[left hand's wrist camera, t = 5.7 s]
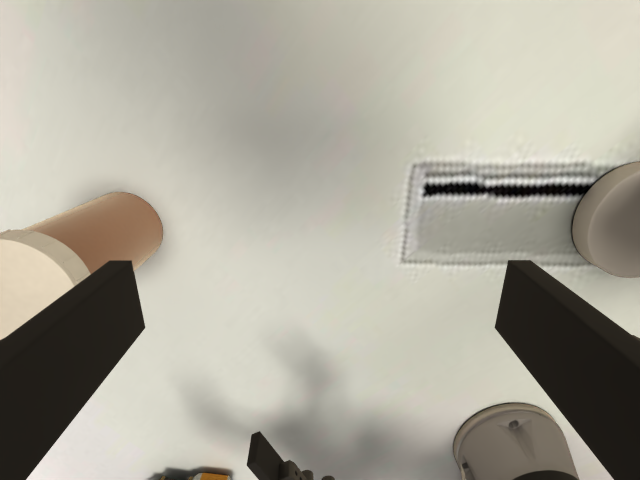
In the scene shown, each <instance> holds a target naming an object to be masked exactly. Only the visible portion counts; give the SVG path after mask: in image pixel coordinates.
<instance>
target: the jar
mask: <svg viewBox="0 0 640 480" xmlns="http://www.w3.org/2000/svg"><path fill="white" fill-rule="evenodd" d="M22 230H29V231H35V232H39V233H42V234H45V235H48V236H50V237H52V238H54V239H57V240H58V241H60V242H61V243H63V244H65V245H66V246H67V247H69V248H70V249H71V250H72V251H73V252H74V253H76V254H77V255H78V257H79V258H80V259H81V260H82V261H83V262H84V264H85V265H86V267H87V268H88V270H89V272H90V274H92V273H93V272H95V271H96V270H97V269H99V268H100V267H101V266H103V265H104V264H105V263H107V262H108V261H110V260H132V265H133V270H134V271H135V270H136V269H137V268H138V267H139V266H141V265H142V264H143V263H144V262H145V261H146V260H147V259H148V258H150V257H151V256H152V255H153V254H154V253H155V252H156V251H157V250H158V248H159V246H160V244H161V242H162V237H163V229H162V224H161V221H160V218H159V216H158V215H157V213H156V211H155V210H154V209H153V208H152V207H151V206H150V205H149V204H148V203H147V202H146V201H144V200H143V199H141V198H139V197H138V196H135V195H133V194H129V193H124V192H113V193H109V194H106V195H104V196H101V197H99V198H96V199H94V200H92V201H89V202H87V203H84V204H82V205H80V206H77V207H75V208H72V209H70V210H68V211H65V212H63V213H60V214H58V215H56V216H53V217H51V218H48V219H46V220H44V221H41V222H39V223H36V224H34V225H32V226H29V227H27V228H24V229H22Z"/></svg>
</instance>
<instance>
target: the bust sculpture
mask: <svg viewBox="0 0 640 480" xmlns="http://www.w3.org/2000/svg"><path fill="white" fill-rule="evenodd" d="M572 233H573V240H574V243H575V246H576V248H577V250H578V251H579V253H580V254H581V255H582V256H583V257H584V258H585V259H586V260H587V261H589V262H590V263H592V264H594V265H595V266H597V267H599V268H601V269H602V270H604V271H606V272H608V273H610V274H612V275H615V276H619V277H626V278H636V277H640V161H639V162H634V163H630V164H627V165H624V166H621V167H619V168H617V169H615V170H613V171H611V172H609V173H608V174H606V175H605V176H604V177H602V178H601V179H600V180H598V181H597V182H596V183H595V184H594V185H593V186H592V187H591V188H590V189H589V190H588V192H587V193H586V194H585V196H584V197H583V199H582V200H581V202H580V204H579V206H578V208H577V210H576V213H575V216H574V220H573V227H572Z"/></svg>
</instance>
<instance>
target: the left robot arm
mask: <svg viewBox="0 0 640 480" xmlns="http://www.w3.org/2000/svg"><path fill="white" fill-rule="evenodd" d="M144 329H145V324H144V319H143V314H142V309H141V304H140V299H139V294H138V289H137V284H136V279H135V275H134V270H133V265H132V260H110V261H108V262H107V263H105V264H104V265H103V266H101V267H100V268H99V269H97V270H96V271H95V272H93V273H92V274H91V275H89V276H88V277H87V278H85V279H84V280H82V281H81V282H80V283H78V284H77V285H76V286H74V287H73V288H72V289H70V290H69V291H68V292H66V293H65V294H63V295H62V296H61V297H59V298H58V299H57V300H55V301H54V302H53V303H51V304H50V305H49V306H47V307H46V308H45V309H43V310H42V311H40V312H39V313H38V314H36V315H35V316H34V317H32V318H31V319H30V320H28V321H27V322H26V323H24V324H23V325H21V326H20V327H19V328H17V329H16V330H15V331H13V332H12V333H11V334H9V335H8V336H7V337H5V338H3V339H1V340H0V480H26V479H27V478H28V476H29V475H30V474H31V472H32V471H33V470H34V469H35V467H36V466H37V465H38V464H39V462H40V461H41V460H42V458H43V457H44V456H45V455H46V453H47V452H48V451H49V450H50V448H51V447H52V446H53V444H54V443H55V442H56V441H57V439H58V438H59V437H60V436H61V434H62V433H63V432H64V430H65V429H66V428H67V427H68V425H69V424H70V423H71V422H72V420H73V419H74V418H75V416H76V415H77V414H78V413H79V411H80V410H81V409H82V408H83V406H84V405H85V404H86V402H87V401H88V400H89V399H90V397H91V396H92V395H93V394H94V392H95V391H96V390H97V388H98V387H99V386H100V385H101V383H102V382H103V381H104V379H105V378H106V377H107V376H108V374H109V373H110V372H111V371H112V369H113V368H114V367H115V365H116V364H117V363H118V362H119V360H120V359H121V358H122V357H123V355H124V354H125V353H126V351H127V350H128V349H129V348H130V346H131V345H132V344H133V343H134V341H135V340H136V339H137V337H138V336H139V335H140V334H141V332H142V331H143V330H144ZM495 329H496V330H497V331H498V332H499V334H500V335H501V336H502V337H503V339H504V340H505V341H506V343H507V344H508V345H509V346H510V348H511V349H512V350H513V351H514V353H515V354H516V355H517V357H518V358H519V359H520V360H521V362H522V363H523V364H524V365H525V367H526V368H527V369H528V371H529V372H530V373H531V374H532V376H533V377H534V378H535V379H536V381H537V382H538V383H539V385H540V386H541V387H542V388H543V390H544V391H545V392H546V394H547V395H548V396H549V397H550V399H551V400H552V401H553V402H554V404H555V405H556V406H557V408H558V409H559V410H560V411H561V413H562V414H563V415H564V416H565V418H566V419H567V420H568V422H569V423H570V424H571V425H572V427H573V428H574V429H575V430H576V432H577V433H578V434H579V436H580V437H581V438H582V439H583V441H584V442H585V443H586V444H587V446H588V447H589V448H590V450H591V451H592V452H593V453H594V455H595V456H596V457H597V458H598V460H599V461H600V462H601V464H602V465H603V466H604V467H605V469H606V470H607V471H608V472H609V474H610V475H611V476H612V478H613V479H614V480H640V338H638V337H636V336H634V335H631V334H629V333H628V332H627V331H625V330H624V329H623V328H621V327H620V326H619V325H617V324H616V323H614V322H613V321H612V320H610V319H609V318H608V317H606V316H605V315H604V314H602V313H601V312H600V311H598V310H597V309H595V308H594V307H593V306H591V305H590V304H589V303H587V302H586V301H585V300H583V299H582V298H581V297H579V296H578V295H577V294H575V293H574V292H572V291H571V290H570V289H568V288H567V287H566V286H564V285H563V284H562V283H560V282H559V281H558V280H556V279H555V278H553V277H552V276H551V275H549V274H548V273H547V272H545V271H544V270H543V269H541V268H540V267H539V266H537V265H536V264H535V263H533V262H532V261H530V260H508V265H507V270H506V275H505V279H504V284H503V289H502V294H501V299H500V304H499V309H498V314H497V319H496V324H495Z"/></svg>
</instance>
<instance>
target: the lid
mask: <svg viewBox="0 0 640 480" xmlns="http://www.w3.org/2000/svg"><path fill="white" fill-rule="evenodd" d="M89 275H91V274H90V272H89V270H88V268H87V267H86V265H85V264H84V262H83V261H82V260H81V259H80V258H79V257H78V255H77V254H76V253H74V252H73V251H72V250H71V249H70V248H69V247H67V246H66V245H65V244H63V243H61V242H60V241H58V240H57V239H54V238H52V237H50V236H48V235H45V234H42V233H39V232H35V231H29V230H7V231H4V232H1V233H0V340H1V339H3V338H5V337H7V336H8V335H9V334H11V333H12V332H13V331H15V330H16V329H17V328H19V327H20V326H21V325H23V324H24V323H26V322H27V321H28V320H30V319H31V318H32V317H34V316H35V315H36V314H38V313H39V312H40V311H42V310H43V309H45V308H46V307H47V306H49V305H50V304H51V303H53V302H54V301H55V300H57V299H58V298H59V297H61V296H62V295H63V294H65V293H66V292H68V291H69V290H70V289H72V288H73V287H74V286H76V285H77V284H78V283H80V282H81V281H82V280H84V279H85V278H87V277H88V276H89Z"/></svg>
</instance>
